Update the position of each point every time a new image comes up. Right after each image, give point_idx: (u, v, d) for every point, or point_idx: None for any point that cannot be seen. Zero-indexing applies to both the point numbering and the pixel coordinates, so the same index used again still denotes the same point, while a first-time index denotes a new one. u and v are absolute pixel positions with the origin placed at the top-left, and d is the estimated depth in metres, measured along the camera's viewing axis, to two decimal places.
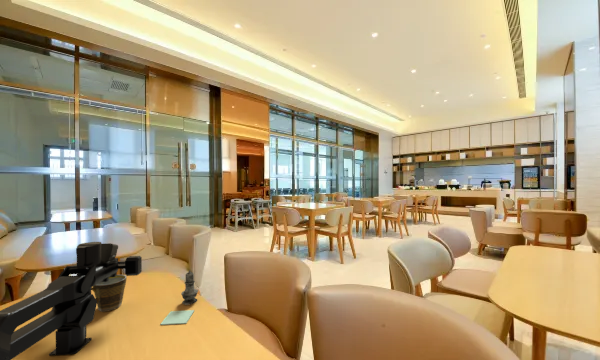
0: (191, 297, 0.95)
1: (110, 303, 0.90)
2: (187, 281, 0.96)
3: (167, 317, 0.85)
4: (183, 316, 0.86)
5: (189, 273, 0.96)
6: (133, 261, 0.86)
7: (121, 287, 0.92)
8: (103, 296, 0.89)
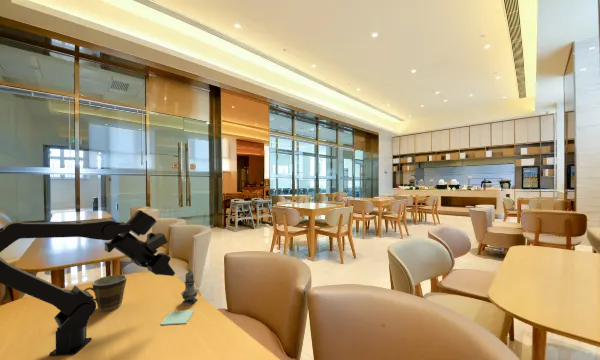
0: (191, 297, 0.95)
1: (110, 303, 0.90)
2: (187, 281, 0.96)
3: (167, 317, 0.85)
4: (183, 316, 0.86)
5: (189, 273, 0.96)
6: (161, 255, 0.81)
7: (121, 287, 0.92)
8: (103, 296, 0.89)
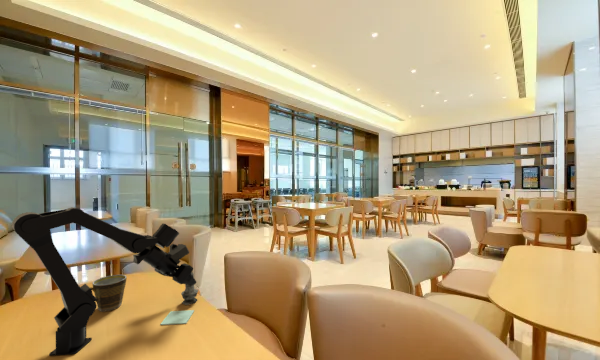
0: (191, 297, 0.95)
1: (110, 303, 0.90)
2: None
3: (167, 317, 0.85)
4: (183, 316, 0.86)
5: None
6: (184, 266, 0.87)
7: (121, 287, 0.92)
8: (103, 296, 0.89)
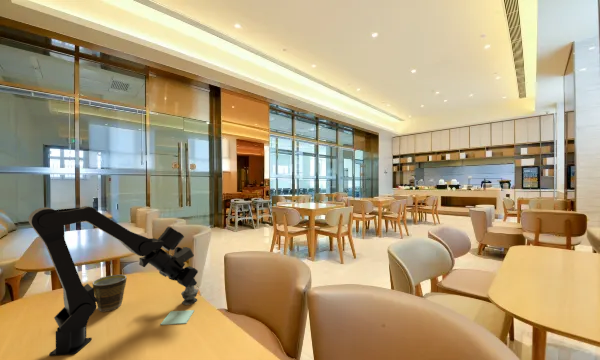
0: (191, 297, 0.95)
1: (110, 303, 0.90)
2: None
3: (167, 317, 0.85)
4: (183, 316, 0.86)
5: None
6: (189, 269, 0.89)
7: (121, 287, 0.92)
8: (103, 296, 0.89)
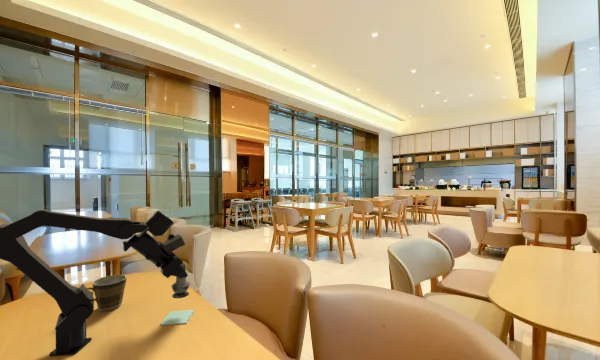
0: (180, 290, 0.86)
1: (110, 303, 0.90)
2: None
3: (167, 317, 0.85)
4: (183, 316, 0.86)
5: None
6: (173, 258, 0.79)
7: (121, 287, 0.92)
8: (103, 296, 0.89)
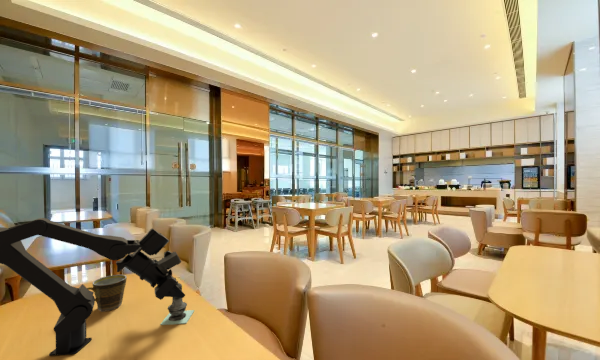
0: (176, 313, 0.83)
1: (110, 303, 0.90)
2: None
3: (167, 317, 0.85)
4: None
5: None
6: (166, 279, 0.76)
7: (121, 287, 0.92)
8: (103, 296, 0.89)
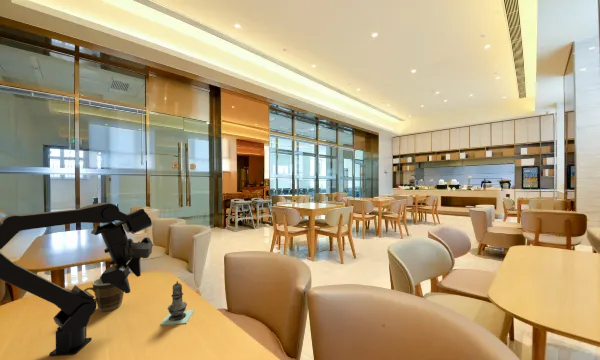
0: (176, 313, 0.83)
1: (110, 303, 0.90)
2: (173, 294, 0.84)
3: (167, 317, 0.85)
4: None
5: (176, 285, 0.85)
6: (119, 268, 0.73)
7: None
8: (103, 296, 0.89)
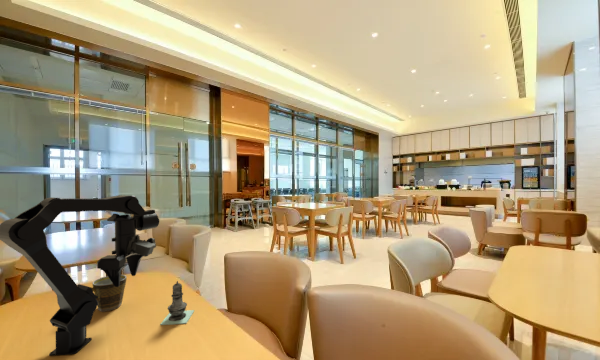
0: (176, 313, 0.83)
1: (110, 303, 0.90)
2: (173, 294, 0.84)
3: (167, 317, 0.85)
4: None
5: (176, 285, 0.85)
6: (116, 257, 0.76)
7: (121, 287, 0.92)
8: (103, 296, 0.89)
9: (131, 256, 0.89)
